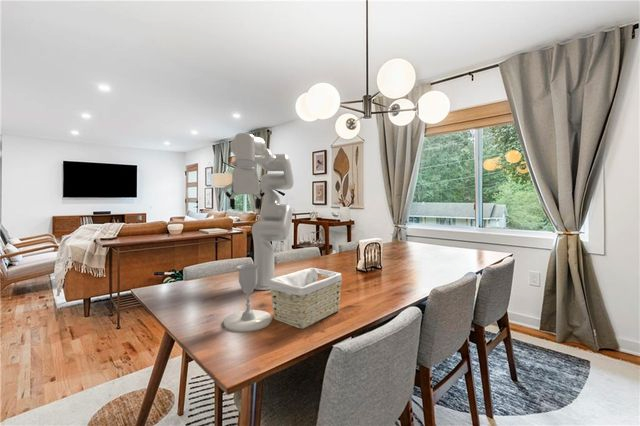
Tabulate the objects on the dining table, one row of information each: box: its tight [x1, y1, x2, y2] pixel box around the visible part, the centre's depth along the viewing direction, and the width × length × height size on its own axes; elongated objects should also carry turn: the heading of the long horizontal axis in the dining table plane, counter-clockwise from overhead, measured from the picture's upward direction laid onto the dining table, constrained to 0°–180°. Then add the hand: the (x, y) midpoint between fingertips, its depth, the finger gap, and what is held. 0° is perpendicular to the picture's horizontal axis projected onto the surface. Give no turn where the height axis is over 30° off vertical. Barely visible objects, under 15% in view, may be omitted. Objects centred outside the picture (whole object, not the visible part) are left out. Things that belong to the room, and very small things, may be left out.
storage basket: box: [269, 267, 343, 329], centre depth 113 cm, size 24×16×15 cm
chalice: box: [237, 263, 259, 321], centre depth 106 cm, size 7×7×18 cm
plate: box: [223, 309, 272, 333], centre depth 107 cm, size 16×16×1 cm
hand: (245, 209), depth 122 cm, fingers open, 9 cm apart
